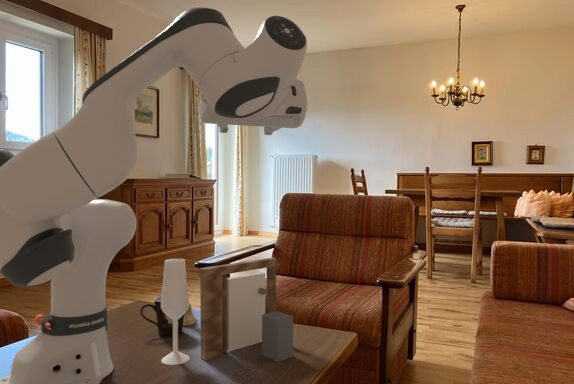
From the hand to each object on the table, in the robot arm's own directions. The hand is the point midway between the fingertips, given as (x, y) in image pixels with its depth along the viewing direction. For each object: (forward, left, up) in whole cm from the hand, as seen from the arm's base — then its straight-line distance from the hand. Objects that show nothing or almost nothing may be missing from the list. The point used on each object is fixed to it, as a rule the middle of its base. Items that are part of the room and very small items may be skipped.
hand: (245, 131), depth 96 cm
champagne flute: (-4, +23, -54) cm, 58 cm away
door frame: (+12, +18, -54) cm, 58 cm away
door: (+14, +18, -53) cm, 58 cm away
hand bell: (+12, +48, -54) cm, 73 cm away
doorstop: (+16, +8, -54) cm, 56 cm away
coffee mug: (+3, +42, -54) cm, 68 cm away
